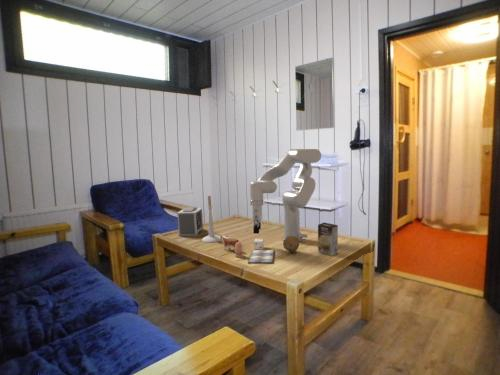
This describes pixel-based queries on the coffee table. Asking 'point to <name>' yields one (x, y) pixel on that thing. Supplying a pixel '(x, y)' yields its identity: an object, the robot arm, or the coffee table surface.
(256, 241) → the die
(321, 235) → the coffee box
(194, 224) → the alarm clock
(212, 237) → the candlestick
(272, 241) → the coffee table surface
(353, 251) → the coffee table surface
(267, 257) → the board
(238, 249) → the pawn
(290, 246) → the natural sponge
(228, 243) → the bull figurine
